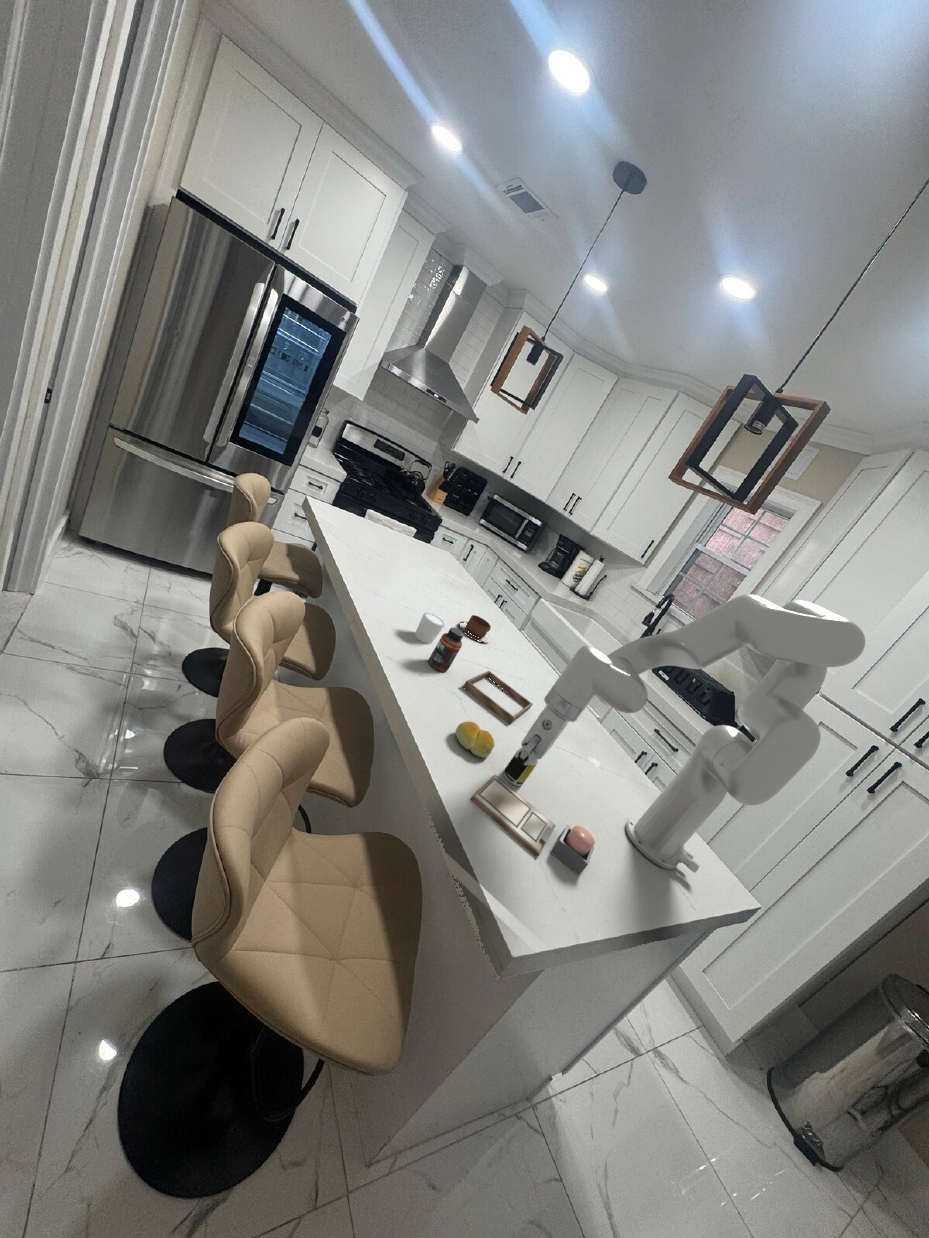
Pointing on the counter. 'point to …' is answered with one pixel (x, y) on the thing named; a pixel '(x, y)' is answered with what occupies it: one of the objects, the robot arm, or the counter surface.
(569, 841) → the button
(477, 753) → the bread roll
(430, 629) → the white cup
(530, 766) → the supplement bottle
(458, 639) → the supplement bottle
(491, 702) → the frame
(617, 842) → the counter surface
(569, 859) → the button housing
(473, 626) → the cup and saucer
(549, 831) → the brown double tray
